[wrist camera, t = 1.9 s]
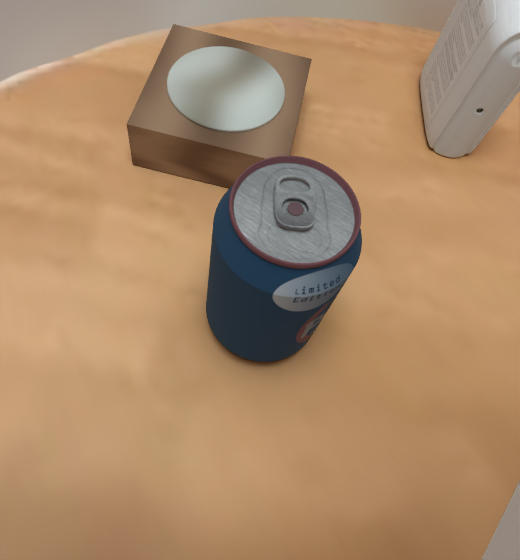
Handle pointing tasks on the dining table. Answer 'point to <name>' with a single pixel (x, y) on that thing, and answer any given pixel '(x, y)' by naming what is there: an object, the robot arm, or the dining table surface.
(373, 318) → the dining table surface
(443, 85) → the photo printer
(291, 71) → the plinth
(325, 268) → the soda can
